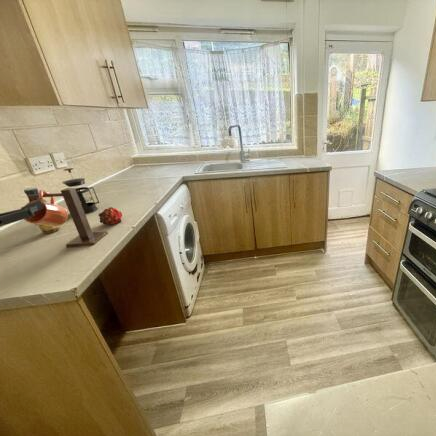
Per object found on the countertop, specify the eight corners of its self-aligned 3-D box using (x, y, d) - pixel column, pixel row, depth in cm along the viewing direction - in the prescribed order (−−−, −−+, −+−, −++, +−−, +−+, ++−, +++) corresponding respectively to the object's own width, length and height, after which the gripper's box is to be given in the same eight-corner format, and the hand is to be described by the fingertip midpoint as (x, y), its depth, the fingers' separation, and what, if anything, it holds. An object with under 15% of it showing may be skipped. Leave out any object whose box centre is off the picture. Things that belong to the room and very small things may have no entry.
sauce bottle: (41, 231, 109) (19, 189, 101) (60, 226, 113) (39, 185, 105) (43, 235, 105) (19, 192, 97) (61, 230, 109) (40, 188, 101)
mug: (67, 225, 95) (46, 222, 86) (44, 227, 94) (20, 223, 85) (69, 194, 97) (49, 188, 88) (46, 195, 96) (24, 189, 87)
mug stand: (41, 249, 94) (13, 195, 85) (60, 237, 103) (37, 187, 94) (94, 245, 96) (72, 192, 87) (108, 234, 105) (90, 184, 96)
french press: (75, 216, 124) (55, 172, 115) (73, 212, 130) (53, 169, 121) (102, 209, 132) (85, 167, 122) (99, 205, 138) (83, 165, 128)
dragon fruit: (109, 232, 110) (117, 225, 121) (123, 219, 111) (129, 213, 121) (90, 220, 106) (100, 214, 117) (105, 206, 107) (113, 201, 118)
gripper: (-104, 252, 62) (-18, 218, 81) (6, 243, 64) (63, 213, 84) (-125, 225, 59) (-31, 197, 78) (-9, 217, 61) (54, 192, 81)
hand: (18, 205), depth 81 cm, fingers open, 13 cm apart
